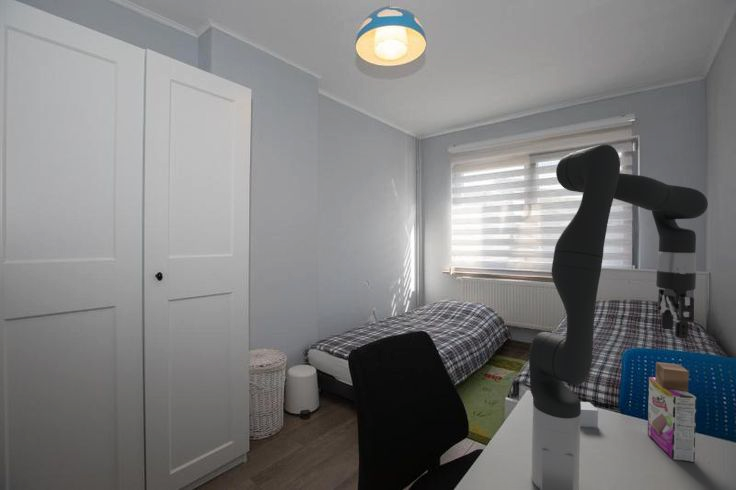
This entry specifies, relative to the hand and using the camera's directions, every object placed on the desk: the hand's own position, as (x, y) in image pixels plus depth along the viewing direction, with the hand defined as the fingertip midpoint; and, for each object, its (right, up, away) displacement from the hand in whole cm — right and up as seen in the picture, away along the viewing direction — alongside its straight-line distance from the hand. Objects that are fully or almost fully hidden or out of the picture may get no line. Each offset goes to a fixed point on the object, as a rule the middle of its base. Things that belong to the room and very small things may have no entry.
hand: (673, 333), depth 90 cm
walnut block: (0, -14, +1) cm, 14 cm away
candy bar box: (0, -30, +1) cm, 30 cm away
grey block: (-15, -30, +13) cm, 36 cm away
